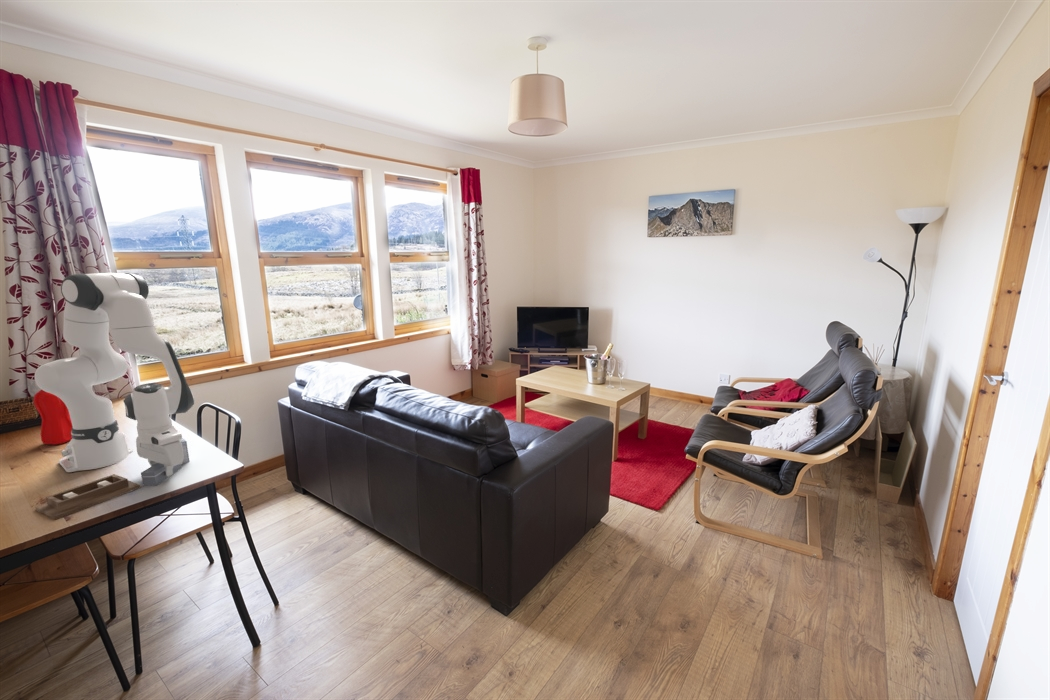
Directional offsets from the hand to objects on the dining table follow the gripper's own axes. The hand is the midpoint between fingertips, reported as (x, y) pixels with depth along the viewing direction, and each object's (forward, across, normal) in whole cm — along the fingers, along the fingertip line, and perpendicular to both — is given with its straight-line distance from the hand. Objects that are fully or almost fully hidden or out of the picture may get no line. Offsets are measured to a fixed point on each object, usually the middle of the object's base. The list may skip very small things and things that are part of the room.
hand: (162, 473), depth 149 cm
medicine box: (+2, -7, +7) cm, 10 cm away
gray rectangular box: (+2, 0, 0) cm, 2 cm away
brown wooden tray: (+2, -5, -17) cm, 18 cm away
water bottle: (+2, -75, +2) cm, 75 cm away
